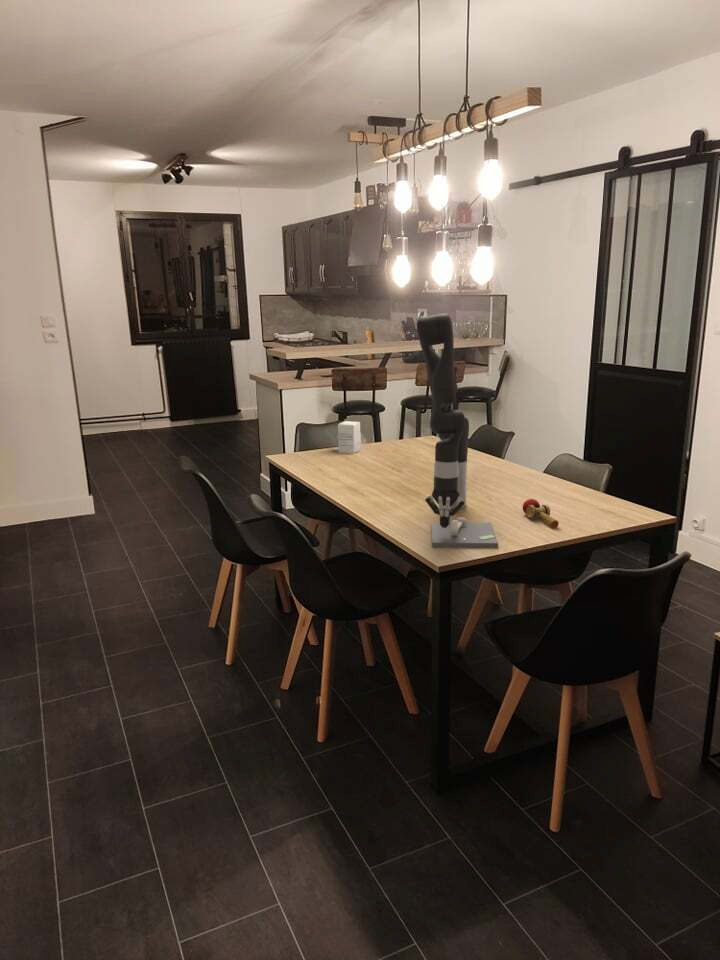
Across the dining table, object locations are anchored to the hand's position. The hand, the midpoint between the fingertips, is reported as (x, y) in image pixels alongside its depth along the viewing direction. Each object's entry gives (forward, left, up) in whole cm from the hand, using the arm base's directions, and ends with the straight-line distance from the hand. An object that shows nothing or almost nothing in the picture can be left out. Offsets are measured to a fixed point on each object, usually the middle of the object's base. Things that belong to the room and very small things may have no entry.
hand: (444, 526), depth 214 cm
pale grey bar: (-5, +4, -2) cm, 7 cm away
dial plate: (-3, +6, -4) cm, 8 cm away
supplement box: (-129, -42, -4) cm, 135 cm away
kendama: (-20, +34, -5) cm, 39 cm away
